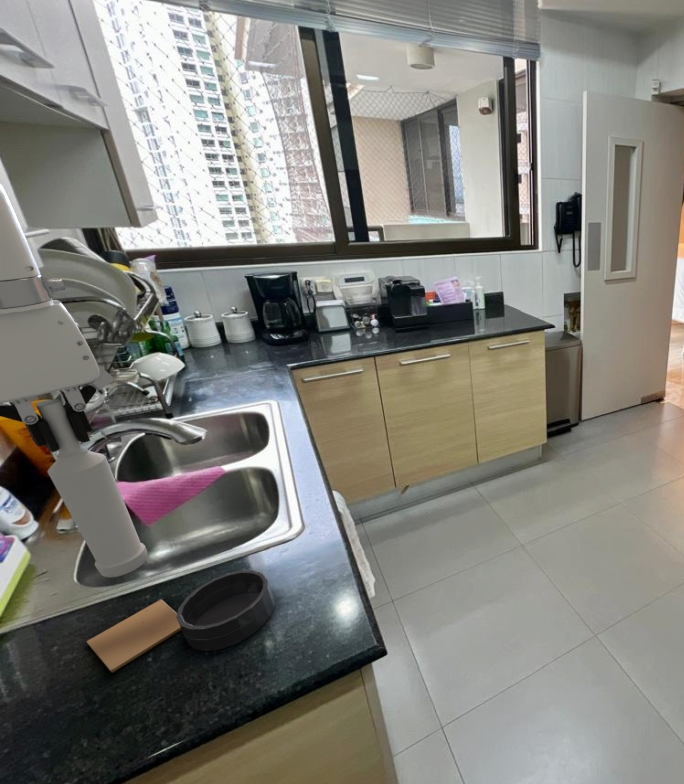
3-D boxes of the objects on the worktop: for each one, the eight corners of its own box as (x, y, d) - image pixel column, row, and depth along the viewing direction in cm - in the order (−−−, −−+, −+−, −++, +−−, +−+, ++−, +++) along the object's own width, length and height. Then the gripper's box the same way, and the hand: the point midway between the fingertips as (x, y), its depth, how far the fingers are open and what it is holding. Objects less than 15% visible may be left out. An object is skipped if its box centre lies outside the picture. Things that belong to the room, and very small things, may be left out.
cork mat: (87, 643, 68) (86, 641, 68) (162, 601, 76) (161, 599, 75) (112, 673, 64) (110, 670, 64) (188, 625, 71) (187, 622, 71)
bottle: (90, 572, 64) (6, 407, 54) (136, 547, 68) (65, 391, 59) (112, 583, 62) (29, 415, 52) (157, 557, 67) (88, 398, 57)
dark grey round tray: (172, 630, 71) (161, 608, 69) (252, 580, 80) (244, 560, 78) (208, 665, 66) (198, 642, 64) (289, 608, 75) (282, 587, 73)
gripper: (84, 281, 59) (136, 413, 66) (-136, 303, 46) (-42, 464, 53) (108, 288, 55) (160, 426, 62) (-123, 314, 42) (-24, 484, 50)
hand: (67, 442), depth 58 cm, fingers closed on bottle, 2 cm apart
